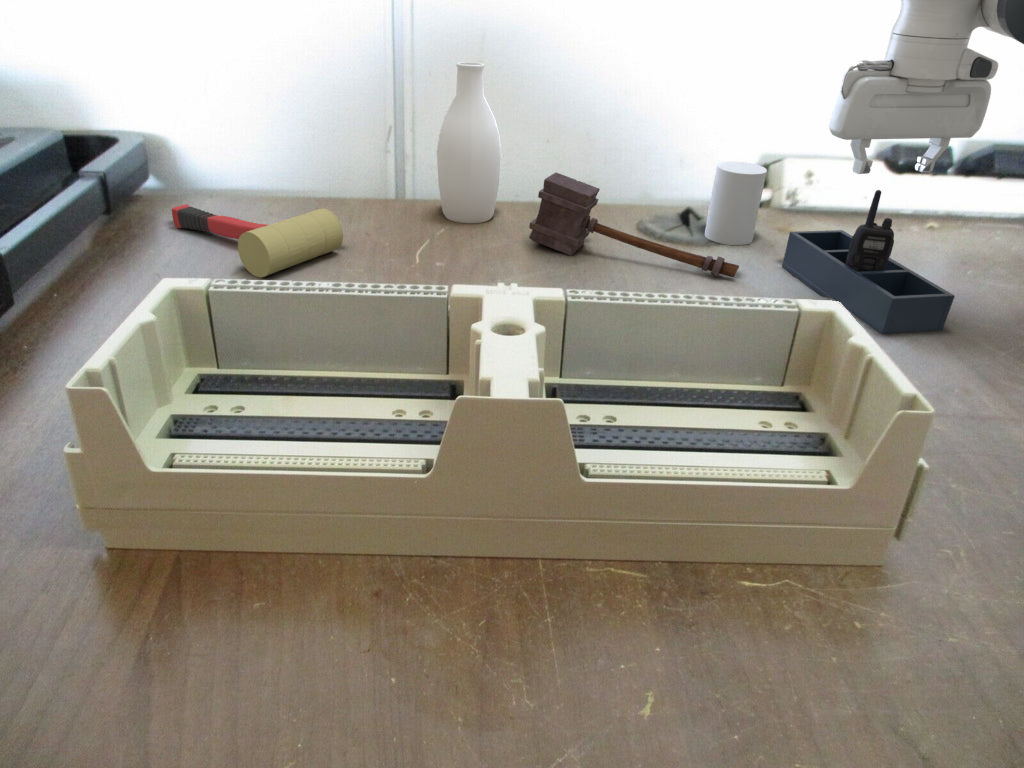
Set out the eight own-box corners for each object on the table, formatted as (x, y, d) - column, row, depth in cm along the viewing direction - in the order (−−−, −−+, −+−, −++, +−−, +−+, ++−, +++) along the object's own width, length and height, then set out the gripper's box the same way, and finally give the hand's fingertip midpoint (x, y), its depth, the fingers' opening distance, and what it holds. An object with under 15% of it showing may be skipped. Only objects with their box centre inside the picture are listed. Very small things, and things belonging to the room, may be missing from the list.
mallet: (144, 246, 122) (273, 281, 107) (135, 205, 119) (266, 236, 104) (219, 224, 132) (345, 253, 118) (211, 186, 129) (340, 211, 115)
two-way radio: (838, 295, 110) (867, 191, 102) (835, 283, 113) (862, 182, 106) (879, 300, 108) (911, 195, 101) (874, 288, 112) (905, 187, 105)
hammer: (540, 226, 129) (555, 169, 123) (725, 299, 121) (750, 242, 116) (524, 238, 123) (539, 179, 118) (717, 315, 116) (742, 256, 110)
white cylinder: (762, 242, 131) (777, 172, 125) (722, 247, 128) (736, 175, 122) (733, 227, 137) (746, 160, 131) (695, 231, 135) (707, 162, 129)
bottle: (464, 230, 130) (465, 70, 117) (424, 213, 137) (422, 61, 124) (512, 218, 137) (518, 65, 124) (472, 202, 144) (474, 57, 131)
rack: (833, 264, 123) (842, 230, 120) (940, 335, 101) (955, 295, 99) (781, 266, 121) (789, 231, 118) (879, 339, 100) (892, 298, 97)
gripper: (863, 63, 91) (835, 180, 98) (1010, 64, 94) (973, 176, 101) (833, 56, 96) (809, 167, 103) (974, 57, 100) (941, 164, 107)
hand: (892, 172), depth 102 cm, fingers open, 8 cm apart
